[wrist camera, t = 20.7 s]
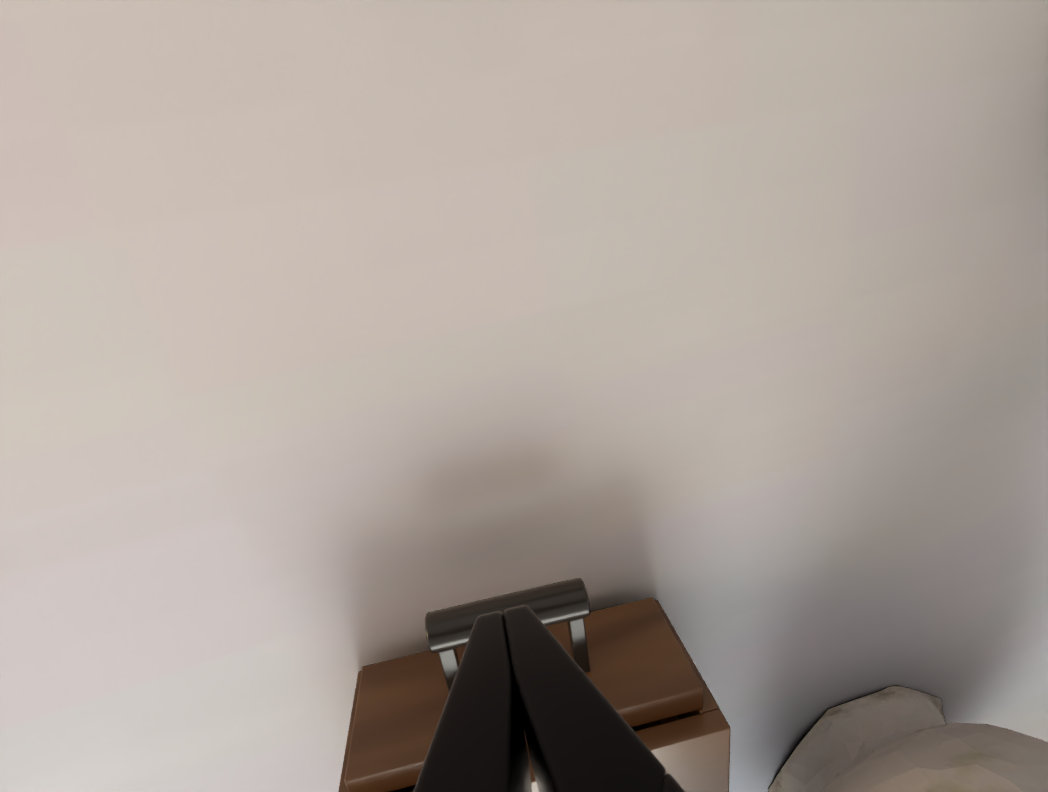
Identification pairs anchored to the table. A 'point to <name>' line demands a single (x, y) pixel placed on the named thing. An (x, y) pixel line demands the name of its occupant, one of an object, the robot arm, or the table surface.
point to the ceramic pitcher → (910, 751)
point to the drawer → (606, 658)
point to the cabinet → (665, 742)
